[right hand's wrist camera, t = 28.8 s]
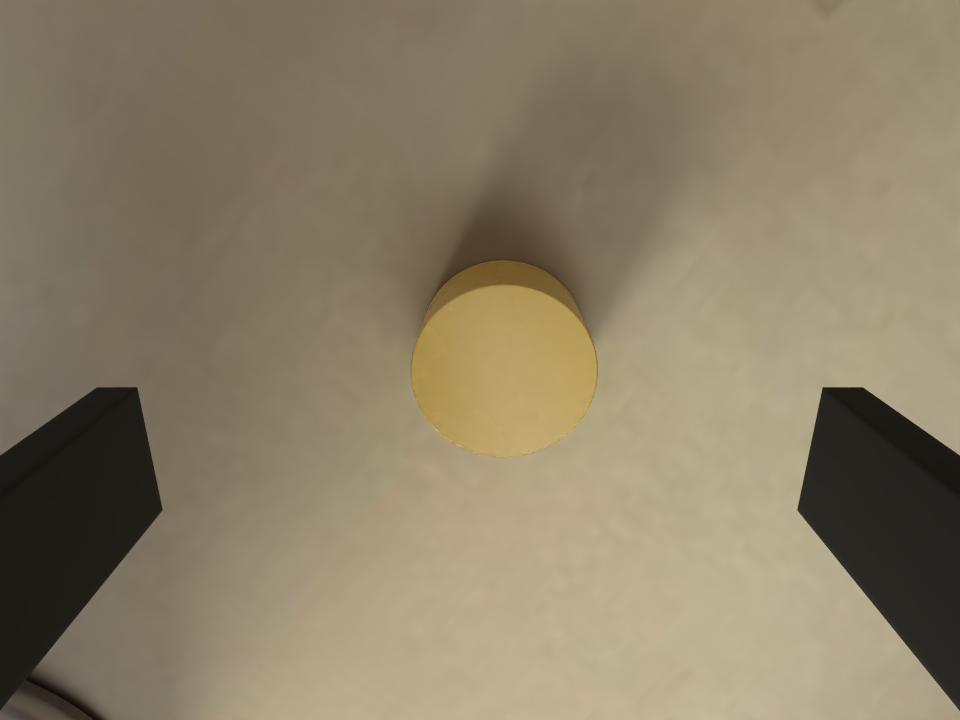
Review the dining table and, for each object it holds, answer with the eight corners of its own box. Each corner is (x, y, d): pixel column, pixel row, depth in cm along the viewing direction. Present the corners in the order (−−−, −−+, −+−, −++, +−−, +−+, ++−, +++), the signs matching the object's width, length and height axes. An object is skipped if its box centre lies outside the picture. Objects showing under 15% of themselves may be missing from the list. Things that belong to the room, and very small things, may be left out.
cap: (580, 412, 19) (593, 457, 16) (425, 412, 19) (415, 457, 17) (587, 258, 17) (603, 283, 15) (418, 260, 17) (405, 284, 15)
